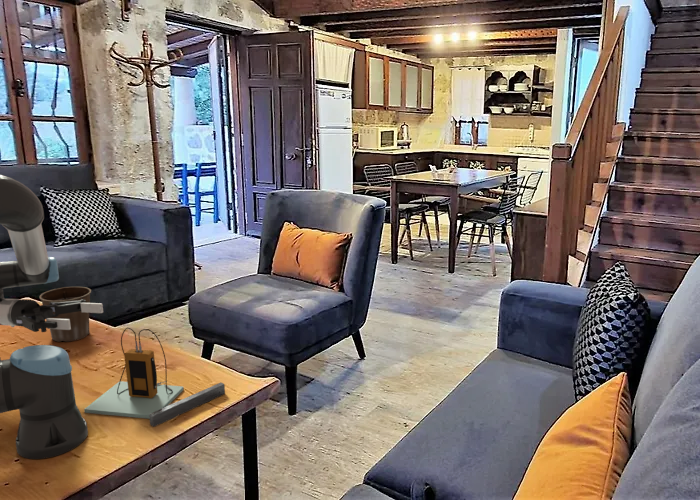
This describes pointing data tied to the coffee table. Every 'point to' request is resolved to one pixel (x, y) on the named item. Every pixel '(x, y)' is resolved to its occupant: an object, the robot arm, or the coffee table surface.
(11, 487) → the coffee table surface
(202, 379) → the coffee table surface
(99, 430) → the coffee table surface
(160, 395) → the plate
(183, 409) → the guide rail
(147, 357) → the corded orange upright block
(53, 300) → the plant pot
